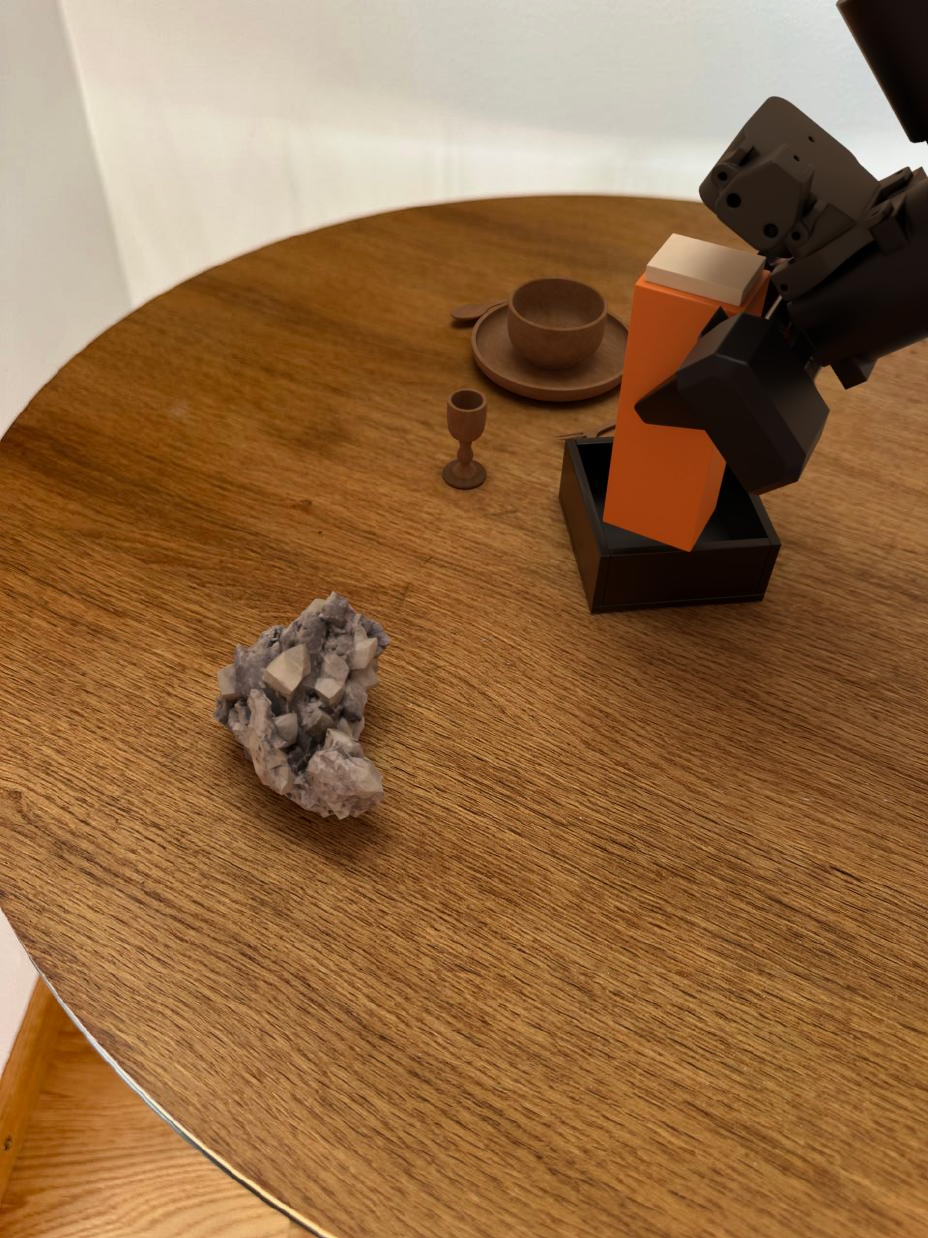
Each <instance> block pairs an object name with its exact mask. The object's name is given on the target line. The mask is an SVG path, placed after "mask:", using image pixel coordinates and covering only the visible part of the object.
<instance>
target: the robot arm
mask: <svg viewBox="0 0 928 1238" xmlns="http://www.w3.org/2000/svg"><path fill="white" fill-rule="evenodd" d="M835 6H836V9H837V10H838V12H839V14H840V16H841V18H842V19H843V21H844V23H845V25H846V27H847V29H848V30H849V32H850V34H851V36H852V38H853V40H854V41H855V44H856V46H857V47H858V49H859V50H860V53H861V54H862V57H863V58H864V60H865V62H866V63H867V65H868V68H869V69H870V71H871V73H872V75H873V76H874V78H875V80H876V82H877V84H878V86H879V88H880V89H881V91H882V93H883V95H884V97H885V98H886V100H887V102H888V104H889V106H890V108H891V110H892V111H893V113H894V114H895V117H896V119H897V120H898V123H899V124H900V127H901V129H902V130H903V132H904V134H905V135H906V137H907V139H908V141H909V142H910V143H912V144H919V143H926V145H927V146H928V0H837V1H836V3H835ZM698 193H699V197H700V200H701V201H702V203H703V204H704V206H705V207H706V209H708V210H709V211H710V212H711V213H713V214H714V215H715V217H716V218H717V219H718V220H719V222H721V223H722V224H723V225H724V226H726V227H727V228H728V229H729V230H730V231H732V232H733V233H734V234H736V236H738V237H739V238H740V239H741V240H743V241H744V242H745V243H747V244H748V245H749V246H750V247H751V248H753V249H754V250H755V251H758V252H757V254H756V255H760V256H764V257H766V261H765V266H764V270H767V271H770V272H771V275H770V276H769V277H770V280H769V285H768V289H767V293H766V297H765V301H764V306H763V310H762V314H761V317H760V316H756V315H753V314H749V313H746V312H741V313H739V314H737V315H735V316H733V317H731V318H729V317H728V316H727V314H726V313H725V311H724V310H723V308H722V307H721V306H719V308H718V309H717V310H716V312H715V313H714V314H713V316H712V317H711V319H710V320H709V321H708V323H707V324H706V326H705V327H704V328H703V330H702V331H701V333H700V334H699V336H698V339H697V343H696V344H695V346H694V347H693V348H692V350H691V351H690V353H689V354H688V355H687V357H686V358H685V360H684V361H683V362H682V364H681V365H680V367H679V368H678V369H677V371H676V372H675V373H674V374H673V375H671V376H670V377H669V378H667V379H666V380H664V381H663V382H662V383H660V384H659V385H658V386H656V387H655V388H654V389H653V390H651V391H650V392H649V393H648V394H646V395H645V396H644V397H642V398H641V399H640V400H639V401H637V402H636V404H635V405H634V409H635V411H636V412H637V414H638V415H639V417H640V418H641V420H642V421H643V422H644V423H646V424H652V425H661V426H670V427H679V428H688V429H697V430H705V432H706V433H707V435H708V436H709V437H710V439H711V440H712V442H713V443H714V445H715V446H716V448H717V449H718V451H719V452H720V454H721V455H722V457H723V458H724V460H725V461H726V463H727V464H728V466H729V467H730V469H731V470H732V472H733V473H734V475H735V476H736V478H737V479H738V480H739V482H740V483H741V485H742V486H743V488H744V489H745V491H746V492H747V493H750V494H754V495H758V496H761V495H764V494H768V493H770V492H773V491H775V490H778V489H782V488H784V487H788V486H789V485H792V484H795V483H797V482H799V480H800V478H801V476H802V475H803V472H804V471H805V468H806V466H807V464H808V462H809V460H810V459H811V457H812V455H813V453H814V451H815V449H816V448H817V445H818V443H819V441H820V439H821V438H822V435H823V432H824V430H825V427H826V424H827V422H828V418H829V415H830V412H831V409H830V408H829V406H828V404H827V403H826V401H825V400H824V398H823V397H822V395H821V393H820V392H819V390H818V387H817V384H816V381H817V378H818V376H819V374H820V372H821V370H822V369H823V368H826V367H828V366H830V368H831V369H832V372H834V374H835V375H836V377H837V379H838V381H839V382H840V383H841V385H842V387H843V389H844V390H845V391H847V390H849V389H852V388H854V387H856V386H860V385H861V384H864V383H866V382H868V380H869V378H870V376H871V374H872V372H873V370H874V368H875V366H876V364H877V362H878V360H879V359H881V358H884V357H886V356H889V355H891V354H893V353H895V352H897V351H900V350H902V349H904V348H908V347H909V346H912V345H915V344H916V343H919V342H921V341H924V340H926V339H928V174H927V173H926V170H925V169H924V167H923V165H922V166H919V167H917V168H916V169H914V170H912V169H911V167H910V166H905V167H902V168H901V169H899V170H897V171H895V172H894V173H892V174H889V175H887V176H886V177H884V178H882V179H880V180H878V179H877V178H876V177H875V176H874V175H873V174H872V173H871V172H870V171H869V170H868V169H867V168H865V167H864V165H862V164H861V163H860V162H859V160H858V158H857V157H856V156H855V155H854V153H852V152H851V151H850V150H849V149H848V148H847V147H846V146H845V145H844V144H842V143H841V142H840V141H838V139H836V138H835V137H834V136H833V135H831V134H830V133H829V132H828V131H827V130H825V129H824V128H823V127H822V126H821V125H819V124H818V123H817V122H815V121H814V120H813V119H812V118H811V117H810V116H808V115H807V114H806V113H805V112H803V111H802V110H801V109H800V108H799V107H797V106H796V105H795V104H793V103H792V102H791V101H789V100H788V99H785V98H783V97H781V96H777V95H773V96H772V95H771V96H768V98H766V100H765V101H764V102H762V104H761V105H760V106H759V107H758V108H757V110H755V112H754V113H753V114H752V115H751V116H750V117H749V119H748V120H747V121H746V122H745V123H744V124H743V126H742V128H741V129H740V130H739V131H738V132H737V134H736V135H735V137H734V138H733V139H732V141H731V142H730V144H729V145H728V146H727V148H726V149H725V150H724V151H723V153H722V155H721V156H720V157H719V159H718V160H717V162H716V163H715V164H714V166H713V167H712V168H711V170H710V171H709V172H708V174H706V176H705V177H704V179H703V180H702V182H701V183H700V184H699V186H698Z"/></svg>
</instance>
